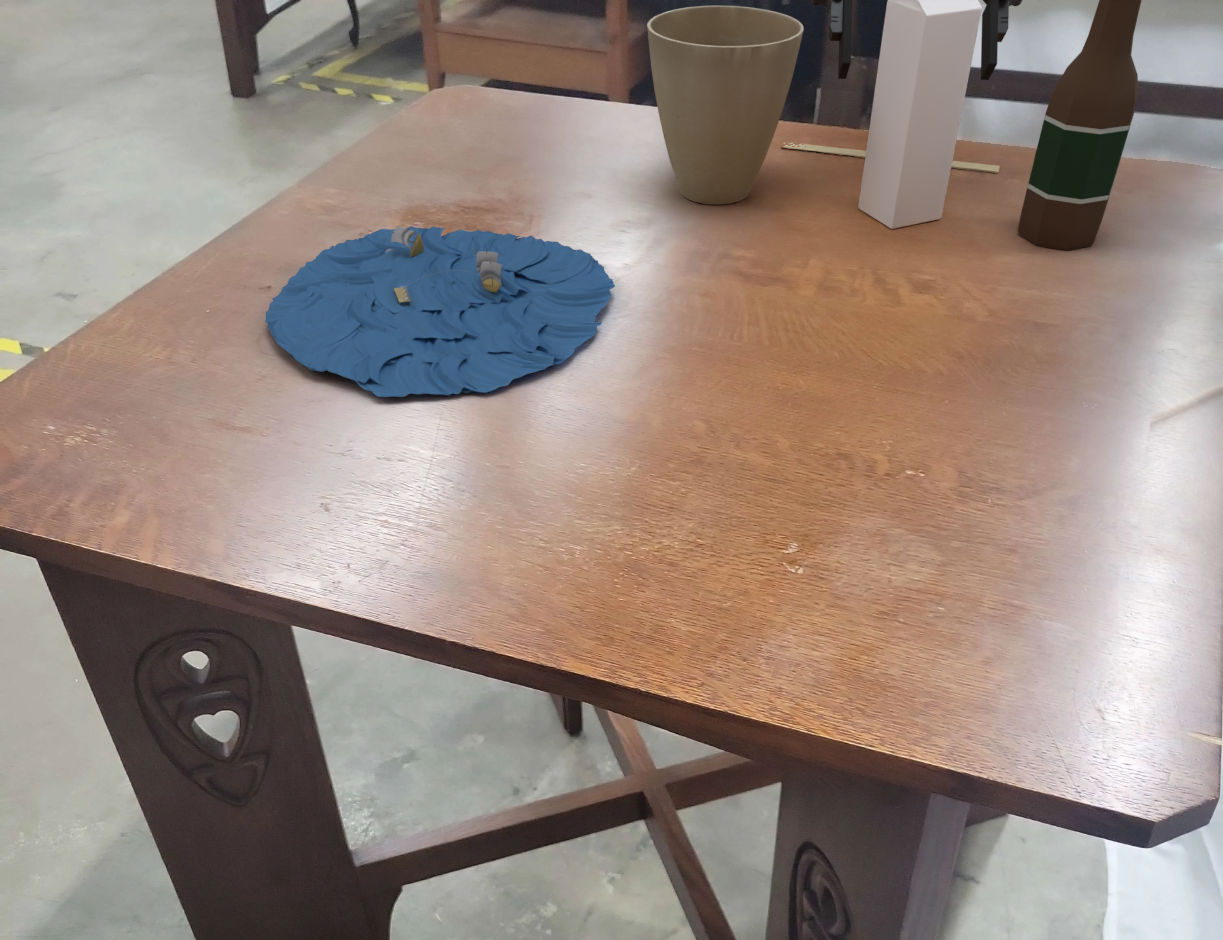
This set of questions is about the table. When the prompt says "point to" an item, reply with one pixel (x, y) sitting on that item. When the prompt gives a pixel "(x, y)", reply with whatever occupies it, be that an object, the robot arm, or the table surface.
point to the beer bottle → (1084, 134)
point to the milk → (917, 108)
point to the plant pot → (721, 93)
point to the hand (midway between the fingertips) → (916, 72)
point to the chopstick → (863, 153)
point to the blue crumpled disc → (439, 309)
